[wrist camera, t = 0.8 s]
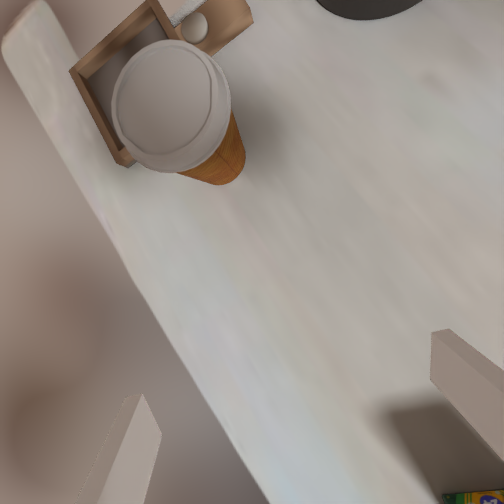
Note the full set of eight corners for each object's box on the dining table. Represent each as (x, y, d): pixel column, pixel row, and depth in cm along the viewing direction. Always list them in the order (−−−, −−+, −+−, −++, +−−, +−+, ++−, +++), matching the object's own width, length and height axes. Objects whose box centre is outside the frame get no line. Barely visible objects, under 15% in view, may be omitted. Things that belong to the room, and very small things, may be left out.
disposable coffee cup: (172, 139, 31) (90, 74, 19) (242, 103, 29) (197, 5, 17) (198, 211, 31) (128, 188, 19) (271, 179, 28) (244, 131, 17)
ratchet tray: (216, -38, 29) (208, -63, 27) (275, 57, 28) (272, 40, 26) (82, 80, 34) (65, 68, 32) (127, 168, 33) (113, 161, 30)
